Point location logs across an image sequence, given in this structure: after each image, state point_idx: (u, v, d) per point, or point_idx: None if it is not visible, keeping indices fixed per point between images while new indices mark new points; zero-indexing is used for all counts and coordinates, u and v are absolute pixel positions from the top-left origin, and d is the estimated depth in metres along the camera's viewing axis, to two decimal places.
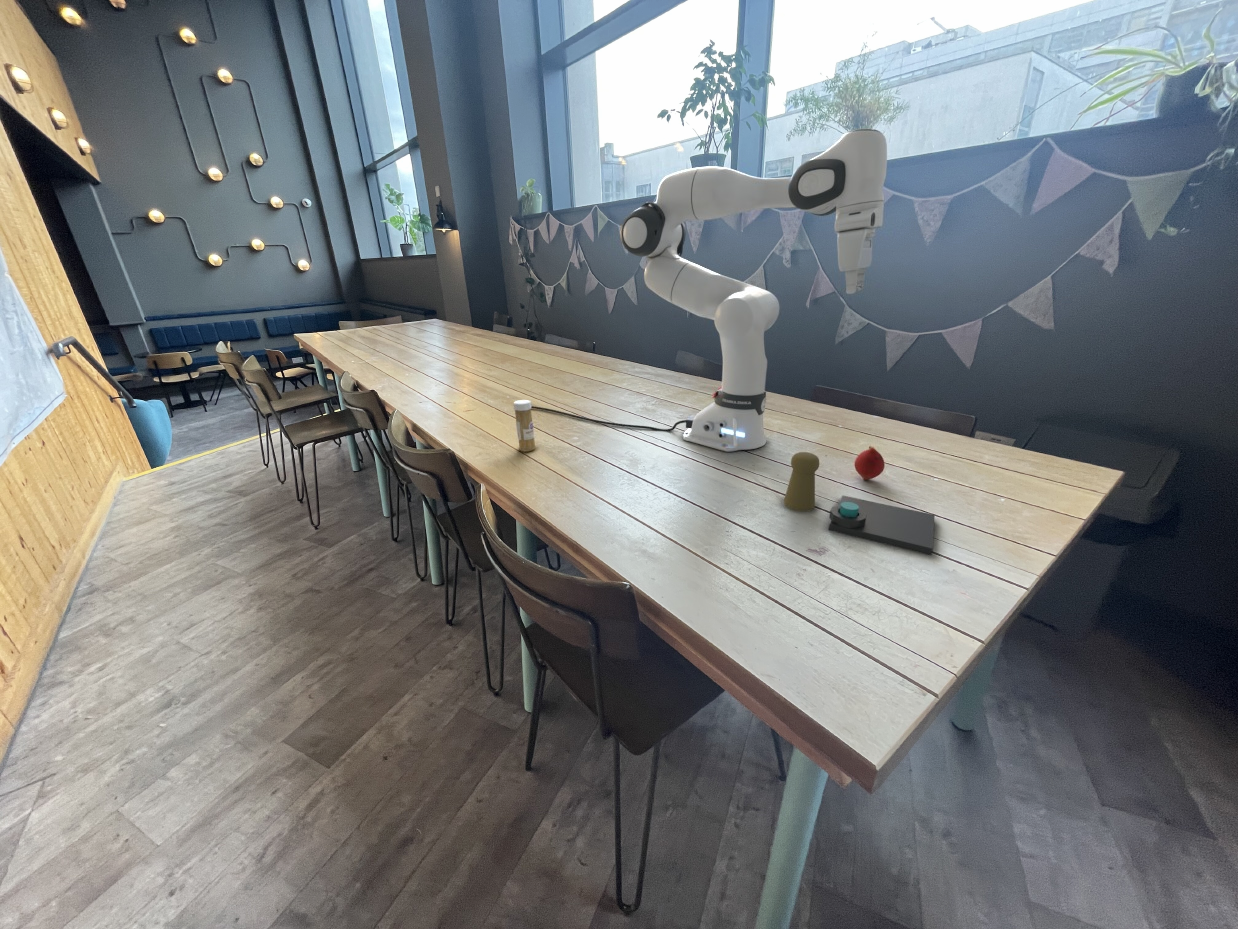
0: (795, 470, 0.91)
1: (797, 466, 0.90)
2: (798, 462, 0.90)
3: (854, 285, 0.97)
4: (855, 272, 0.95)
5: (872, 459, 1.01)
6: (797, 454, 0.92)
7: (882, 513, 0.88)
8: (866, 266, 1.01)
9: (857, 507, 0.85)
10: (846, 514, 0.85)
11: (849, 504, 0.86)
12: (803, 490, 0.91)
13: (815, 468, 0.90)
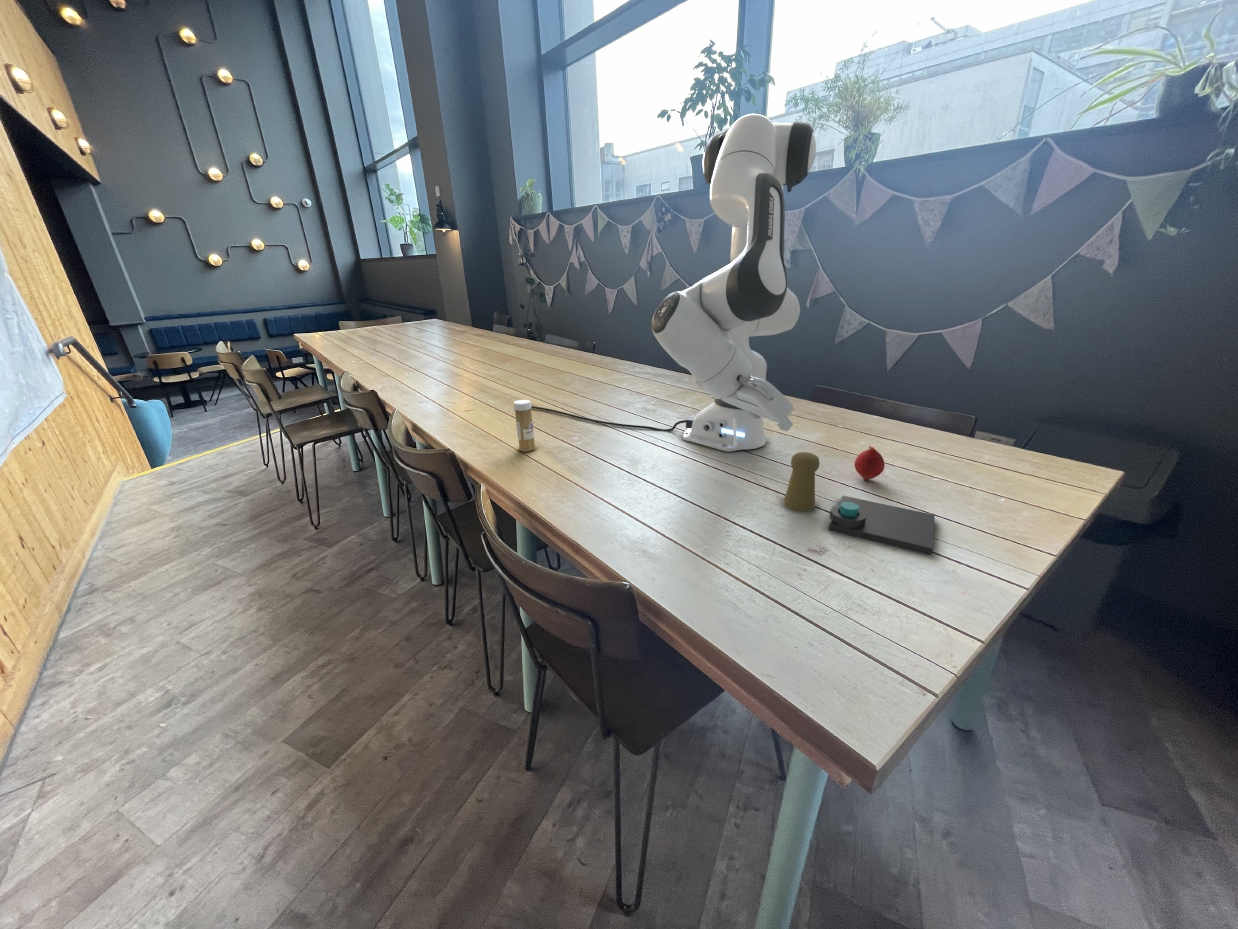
0: (795, 470, 0.91)
1: (797, 466, 0.90)
2: (798, 462, 0.90)
3: None
4: None
5: (872, 459, 1.01)
6: (797, 454, 0.92)
7: (882, 513, 0.88)
8: (757, 415, 0.83)
9: (857, 507, 0.85)
10: (846, 514, 0.85)
11: (849, 504, 0.86)
12: (803, 490, 0.91)
13: (815, 468, 0.90)
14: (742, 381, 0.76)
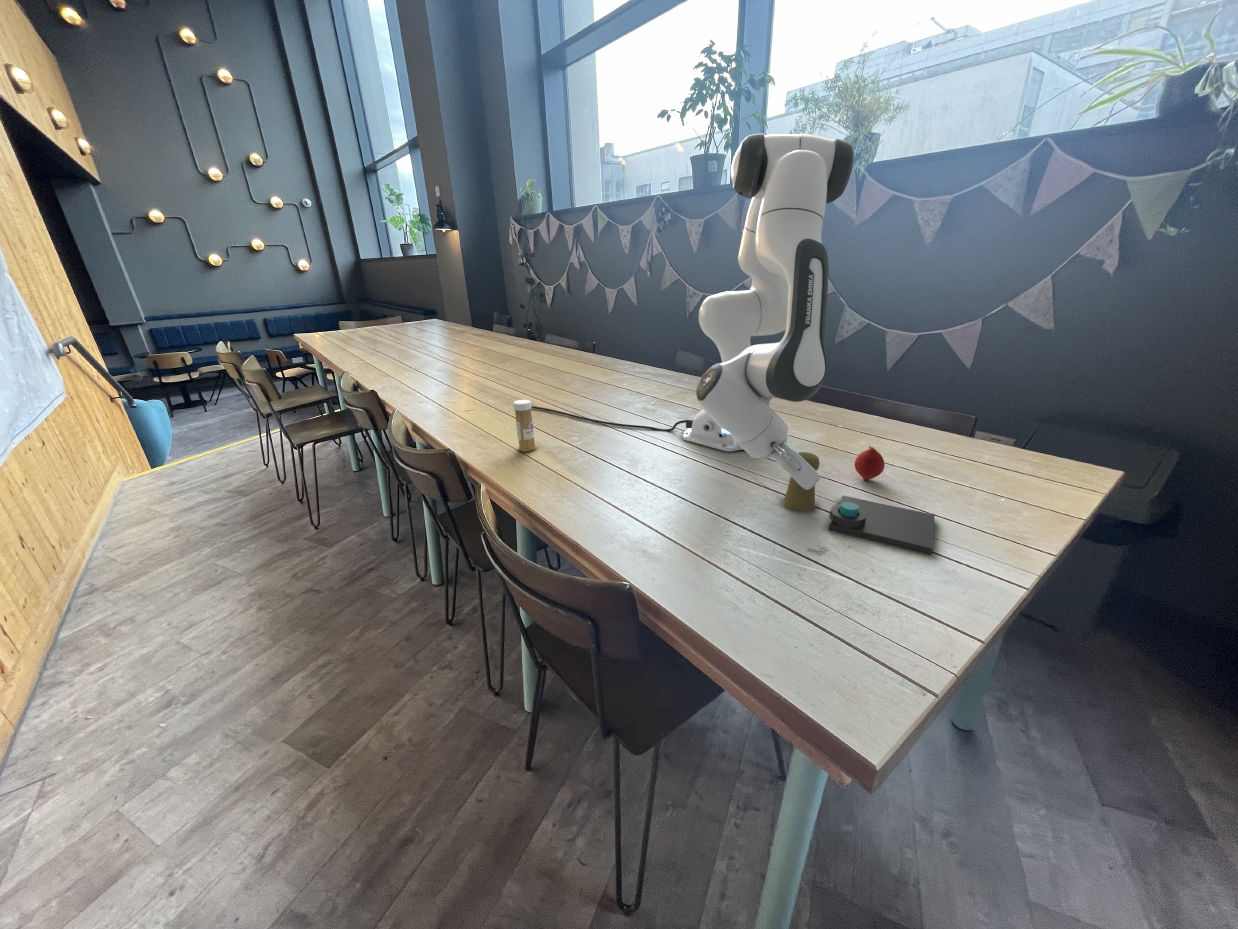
0: None
1: None
2: None
3: None
4: None
5: (872, 459, 1.01)
6: None
7: (882, 513, 0.88)
8: None
9: (857, 507, 0.85)
10: (846, 514, 0.85)
11: (849, 504, 0.86)
12: (803, 490, 0.91)
13: (815, 468, 0.90)
14: (774, 449, 0.83)
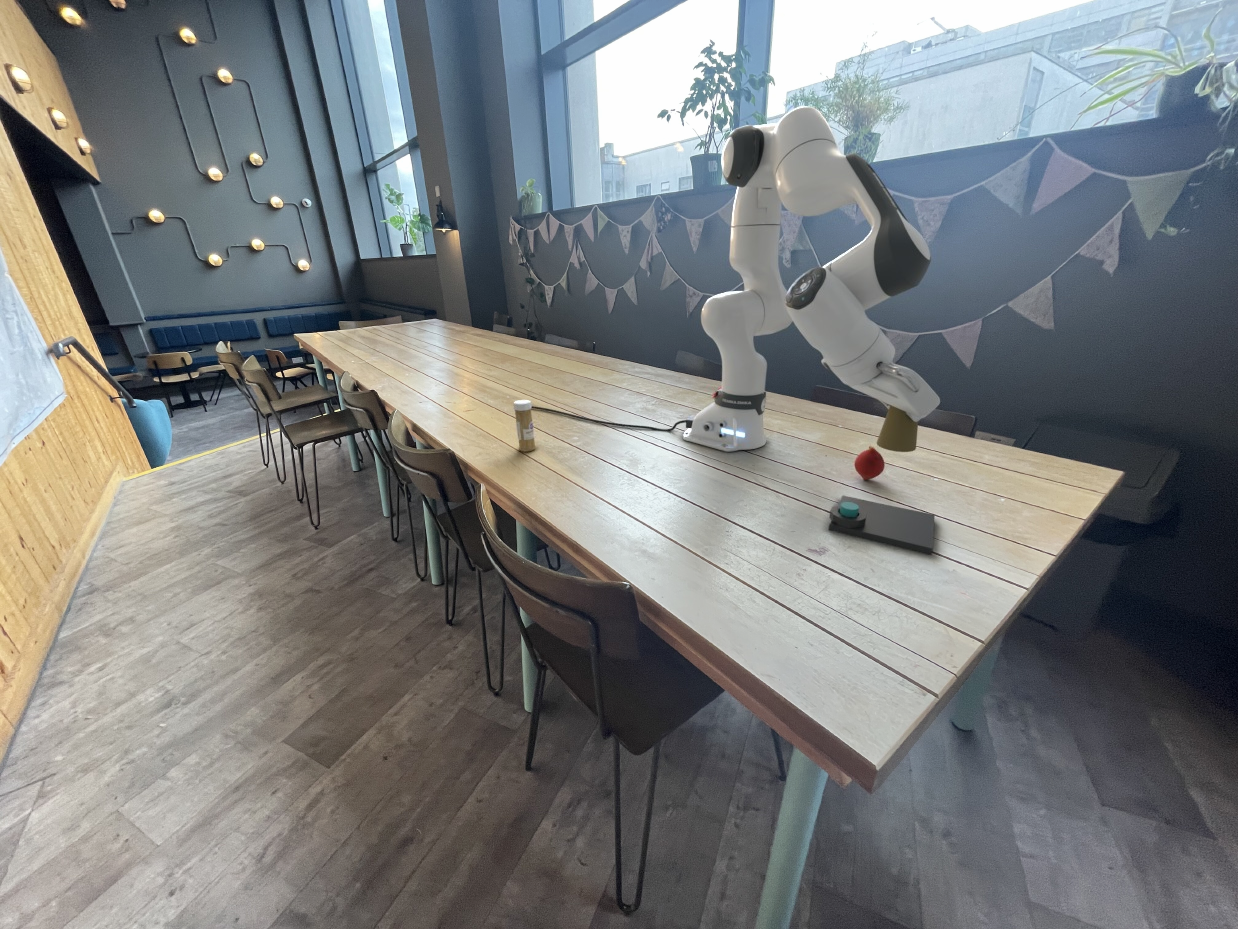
0: None
1: None
2: None
3: None
4: None
5: (872, 459, 1.01)
6: None
7: (882, 513, 0.88)
8: (892, 405, 0.76)
9: (857, 507, 0.85)
10: (846, 514, 0.85)
11: (849, 504, 0.86)
12: (906, 425, 0.78)
13: None
14: (883, 369, 0.70)
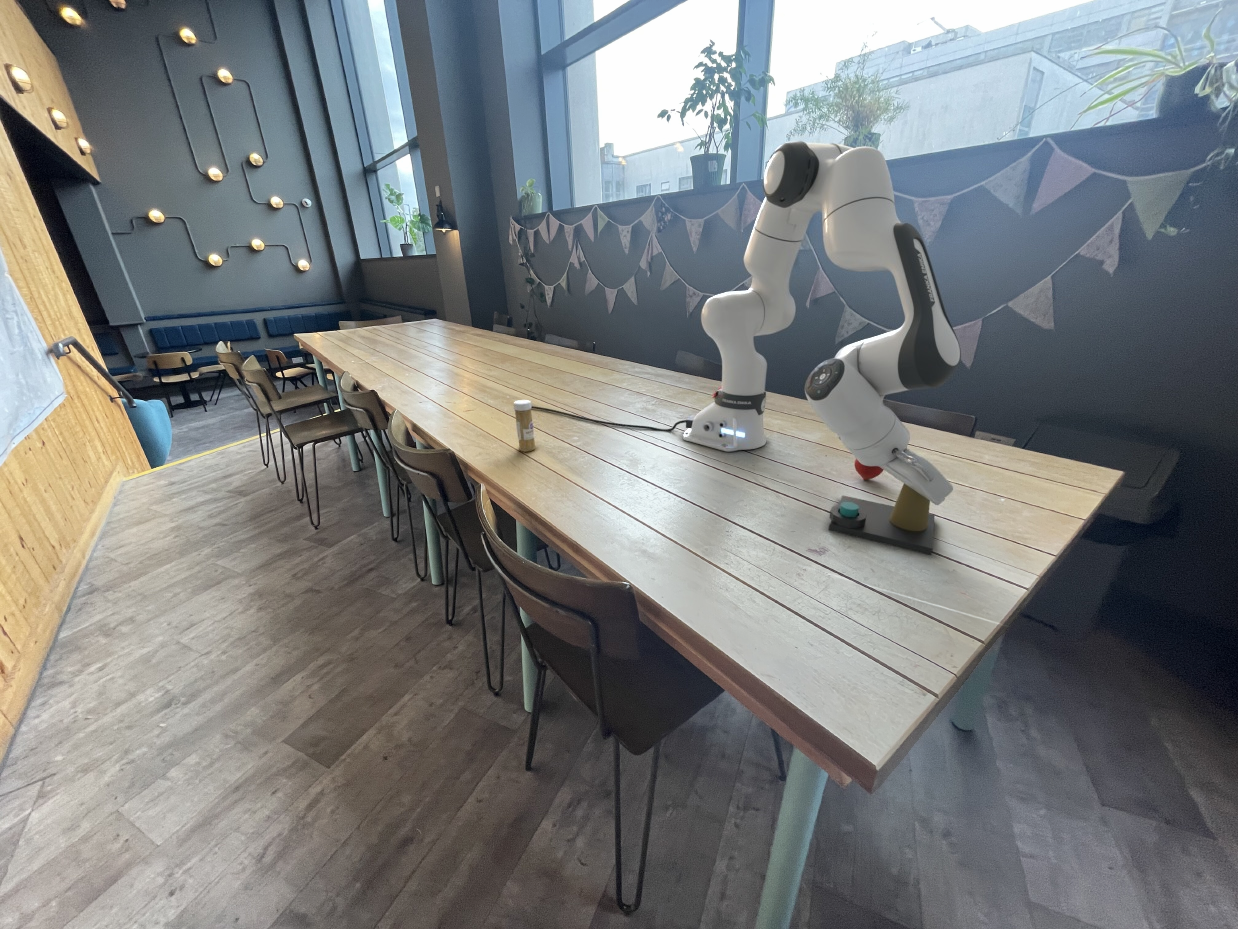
0: None
1: None
2: None
3: None
4: None
5: None
6: None
7: (882, 513, 0.88)
8: None
9: (857, 507, 0.85)
10: (846, 514, 0.85)
11: (849, 504, 0.86)
12: (918, 507, 0.81)
13: None
14: (899, 456, 0.73)
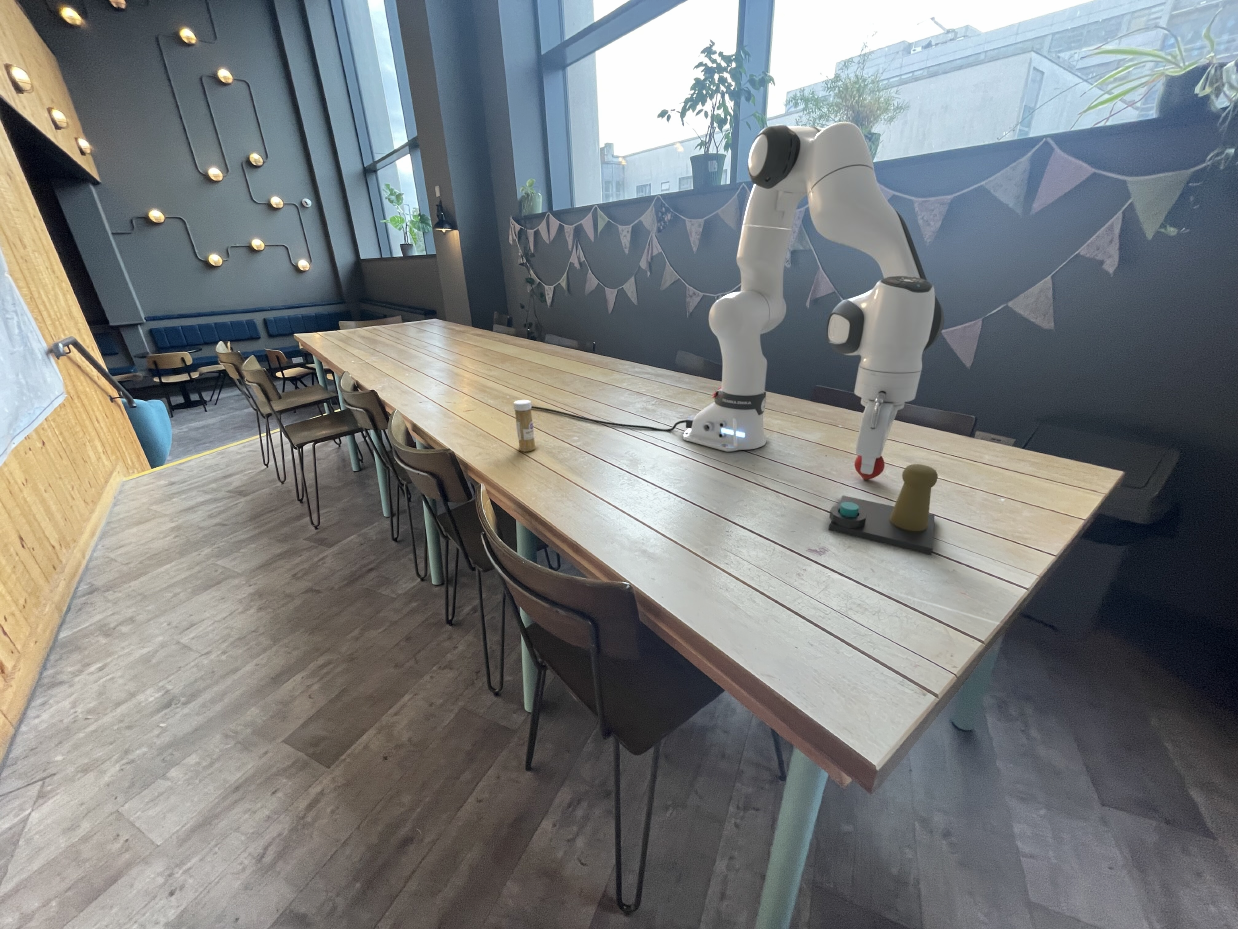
0: (909, 485, 0.81)
1: (913, 480, 0.80)
2: (914, 476, 0.80)
3: None
4: None
5: None
6: (911, 467, 0.81)
7: (882, 513, 0.88)
8: None
9: (857, 507, 0.85)
10: (846, 514, 0.85)
11: (849, 504, 0.86)
12: (918, 507, 0.81)
13: (934, 483, 0.80)
14: (877, 395, 0.72)
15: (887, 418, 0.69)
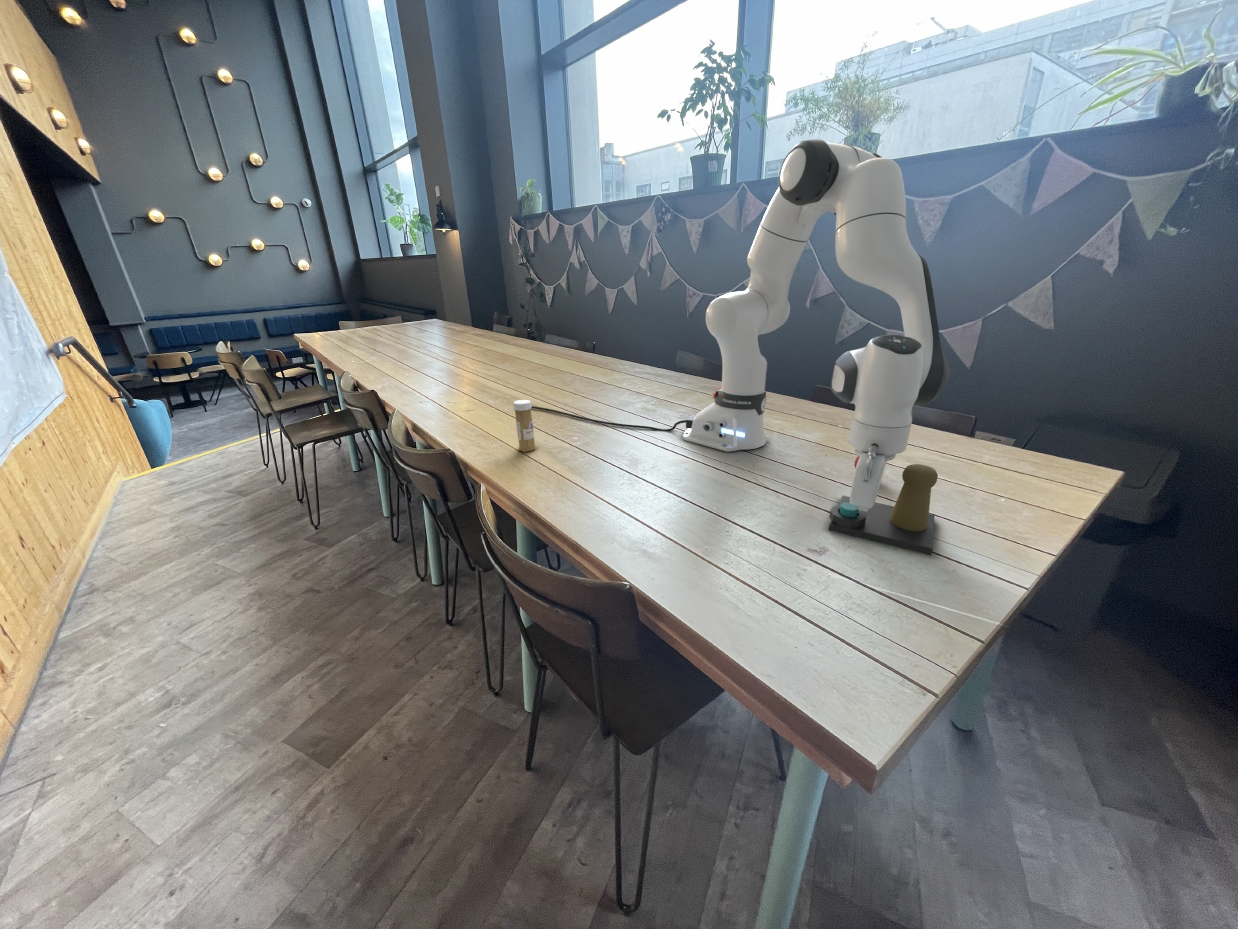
0: (909, 485, 0.81)
1: (913, 480, 0.80)
2: (914, 476, 0.80)
3: None
4: None
5: None
6: (911, 467, 0.81)
7: (882, 513, 0.88)
8: None
9: (857, 508, 0.85)
10: (846, 515, 0.85)
11: (848, 505, 0.86)
12: (918, 507, 0.81)
13: (934, 483, 0.80)
14: (870, 448, 0.75)
15: (879, 472, 0.73)
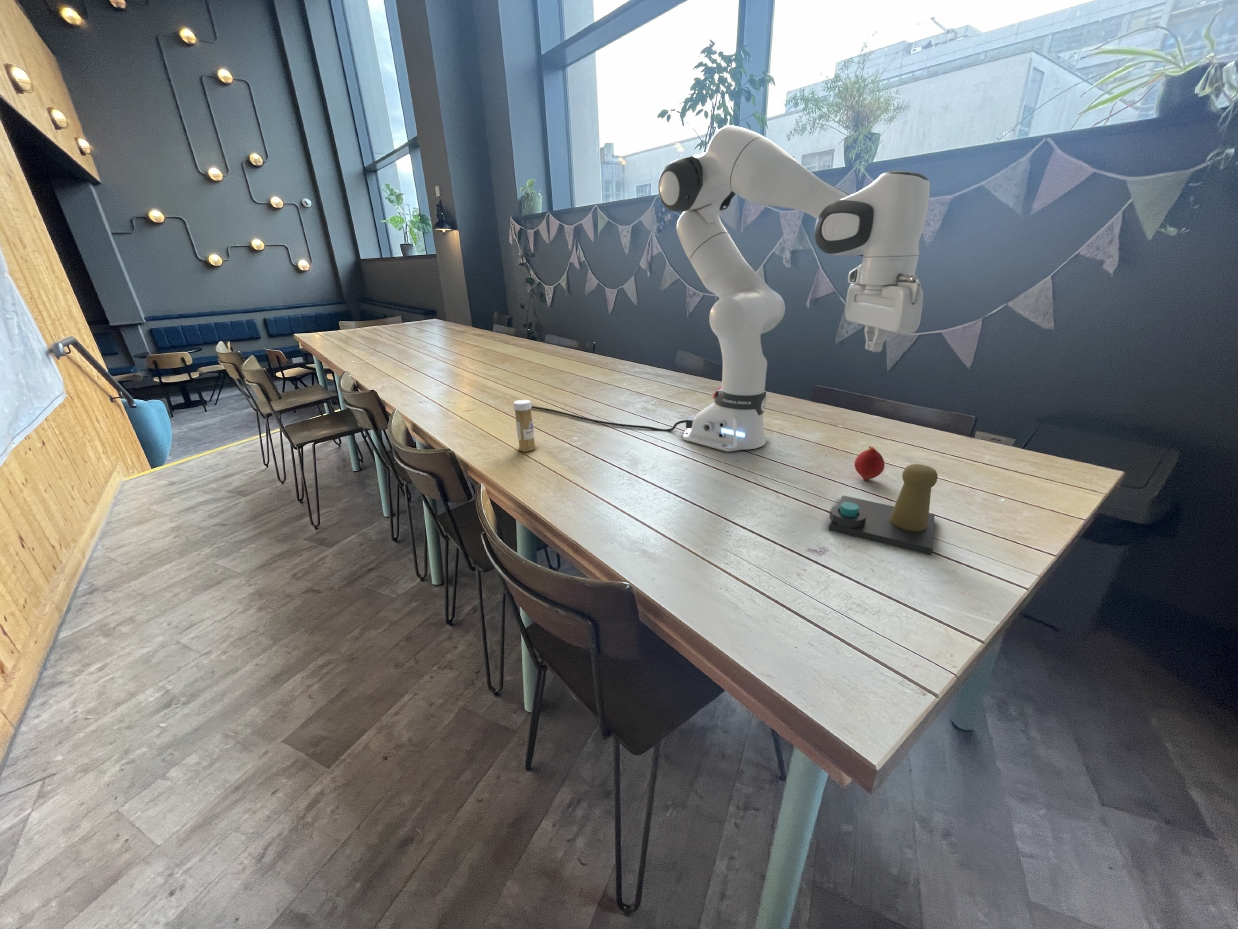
0: (909, 485, 0.81)
1: (913, 480, 0.80)
2: (914, 476, 0.80)
3: None
4: None
5: (872, 459, 1.01)
6: (911, 467, 0.81)
7: (882, 513, 0.88)
8: (875, 326, 0.87)
9: (857, 507, 0.85)
10: (846, 514, 0.85)
11: (849, 504, 0.86)
12: (918, 507, 0.81)
13: (934, 483, 0.80)
14: (903, 276, 0.80)
15: None
